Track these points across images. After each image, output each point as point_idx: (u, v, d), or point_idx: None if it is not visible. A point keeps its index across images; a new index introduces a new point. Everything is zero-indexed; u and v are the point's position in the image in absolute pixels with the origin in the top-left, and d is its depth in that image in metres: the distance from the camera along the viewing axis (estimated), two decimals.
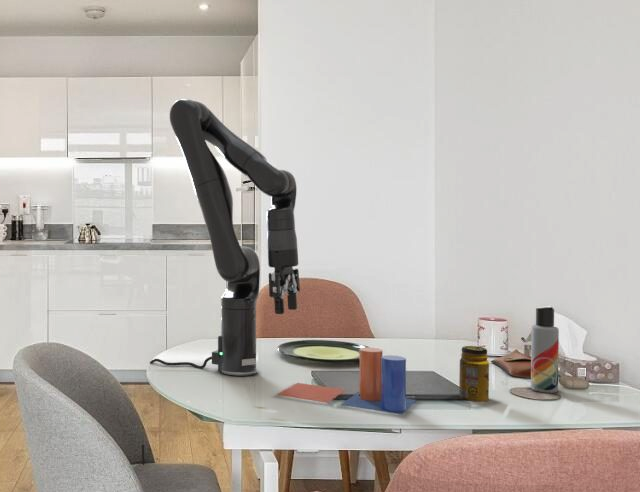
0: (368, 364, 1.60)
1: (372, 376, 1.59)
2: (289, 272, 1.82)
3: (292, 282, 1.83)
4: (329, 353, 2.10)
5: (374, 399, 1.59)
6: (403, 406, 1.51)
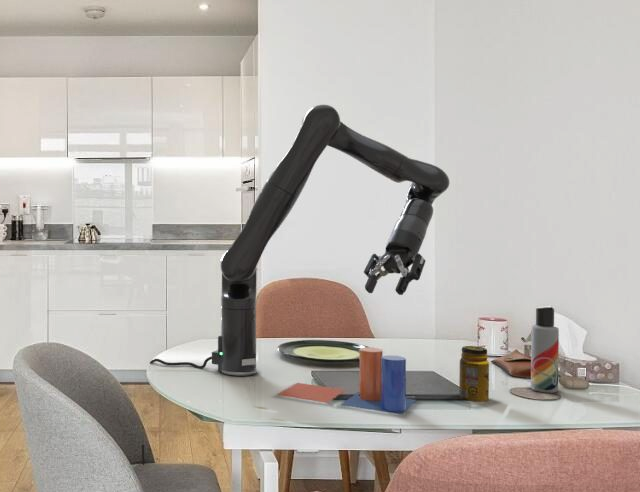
0: (368, 364, 1.60)
1: (372, 376, 1.59)
2: None
3: None
4: (329, 353, 2.10)
5: (374, 399, 1.59)
6: (403, 406, 1.51)
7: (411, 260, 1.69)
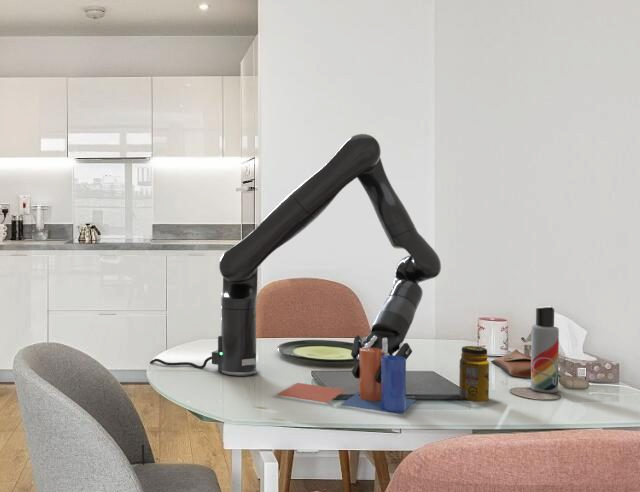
0: (368, 364, 1.60)
1: (372, 375, 1.59)
2: None
3: None
4: (329, 353, 2.10)
5: (374, 399, 1.59)
6: (403, 406, 1.51)
7: (399, 345, 1.62)
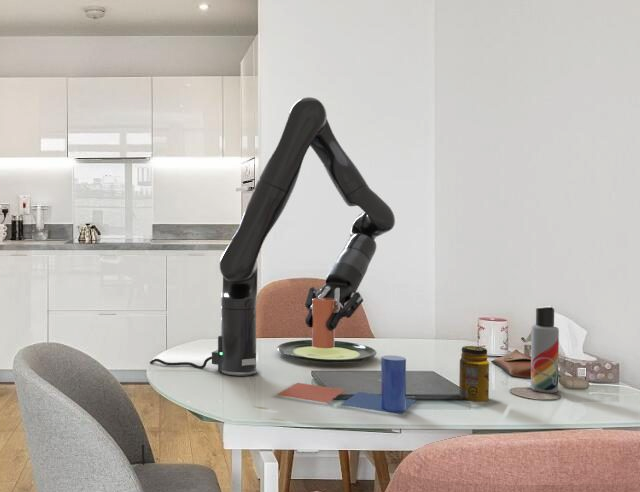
0: (320, 312, 1.64)
1: (323, 323, 1.63)
2: None
3: None
4: (329, 353, 2.10)
5: (326, 346, 1.63)
6: (403, 406, 1.51)
7: None
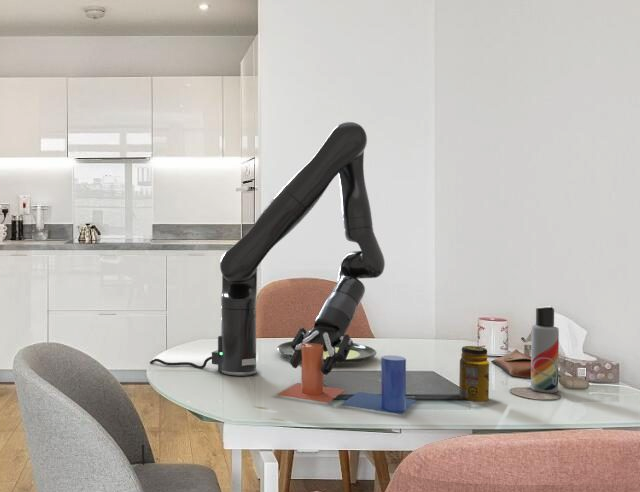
0: (309, 359, 1.65)
1: (312, 370, 1.65)
2: None
3: None
4: None
5: (314, 393, 1.65)
6: (403, 406, 1.51)
7: (339, 340, 1.67)
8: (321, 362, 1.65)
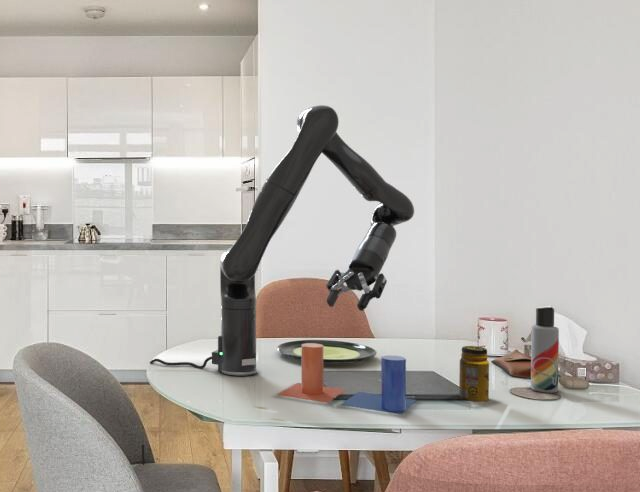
0: (309, 359, 1.65)
1: (312, 370, 1.65)
2: None
3: None
4: (329, 353, 2.10)
5: (314, 393, 1.65)
6: (403, 406, 1.51)
7: (373, 279, 1.76)
8: (321, 362, 1.65)
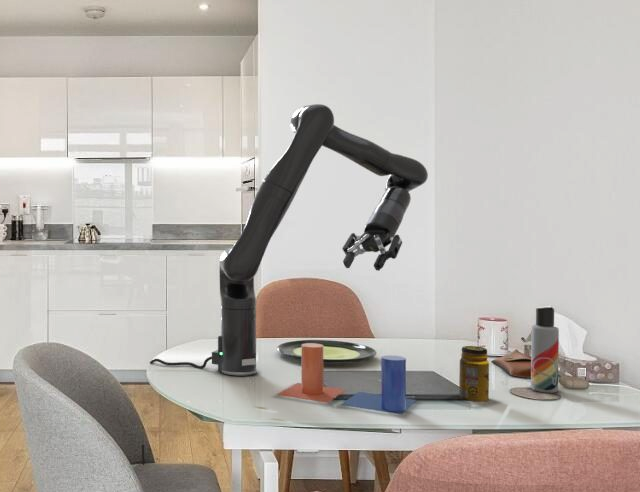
0: (309, 359, 1.65)
1: (312, 370, 1.65)
2: None
3: None
4: (329, 353, 2.10)
5: (314, 393, 1.65)
6: (403, 406, 1.51)
7: (389, 240, 1.81)
8: (321, 362, 1.65)
